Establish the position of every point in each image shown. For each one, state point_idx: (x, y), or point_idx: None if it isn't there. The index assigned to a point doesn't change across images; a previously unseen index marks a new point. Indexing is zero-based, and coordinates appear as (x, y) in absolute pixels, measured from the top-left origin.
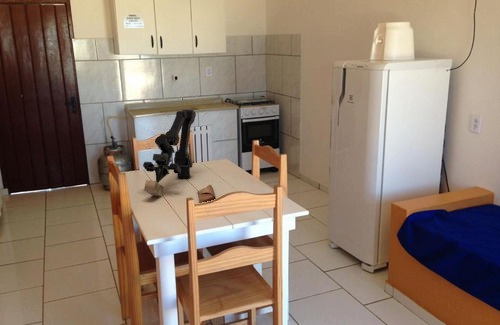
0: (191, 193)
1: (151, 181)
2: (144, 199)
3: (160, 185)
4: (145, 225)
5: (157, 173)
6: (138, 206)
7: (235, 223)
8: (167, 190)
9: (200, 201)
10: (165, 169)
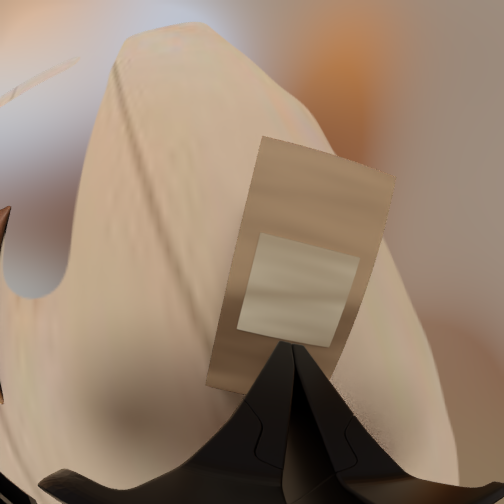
0: (24, 380)
1: (318, 153)
2: None
3: (224, 300)
4: (225, 45)
5: (335, 443)
6: None
7: (10, 90)
8: None
9: (2, 210)
10: (83, 483)
